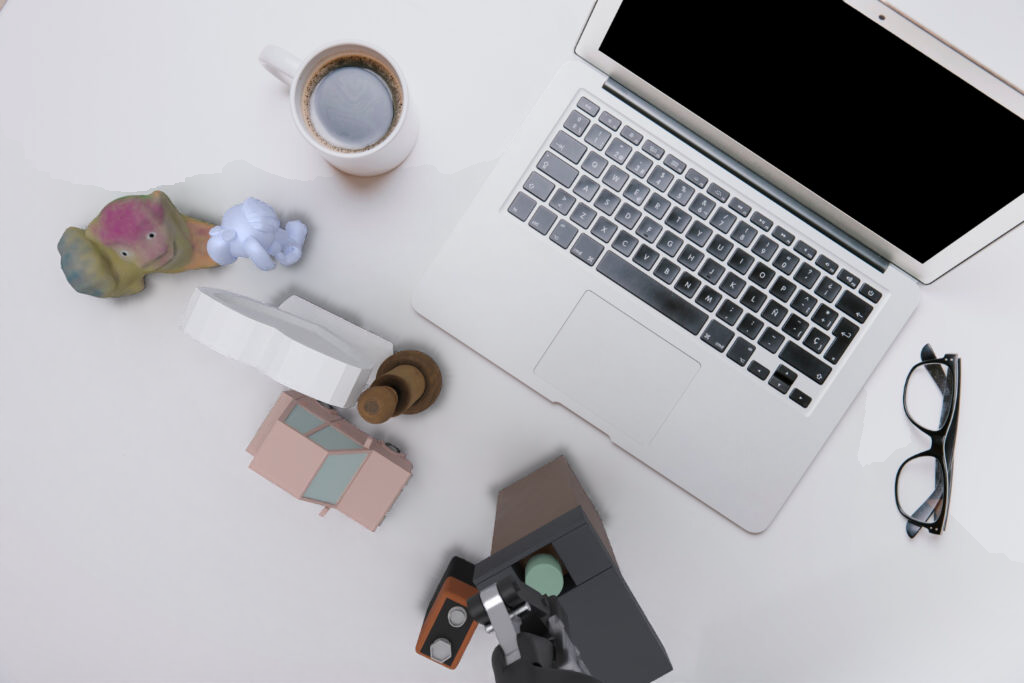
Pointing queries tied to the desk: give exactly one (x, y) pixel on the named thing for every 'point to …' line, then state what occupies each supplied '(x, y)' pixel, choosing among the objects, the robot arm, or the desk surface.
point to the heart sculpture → (289, 343)
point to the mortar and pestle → (401, 387)
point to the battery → (449, 616)
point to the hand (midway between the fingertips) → (546, 611)
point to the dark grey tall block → (575, 572)
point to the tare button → (544, 574)
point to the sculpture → (133, 246)
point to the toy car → (328, 460)
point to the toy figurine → (256, 236)
